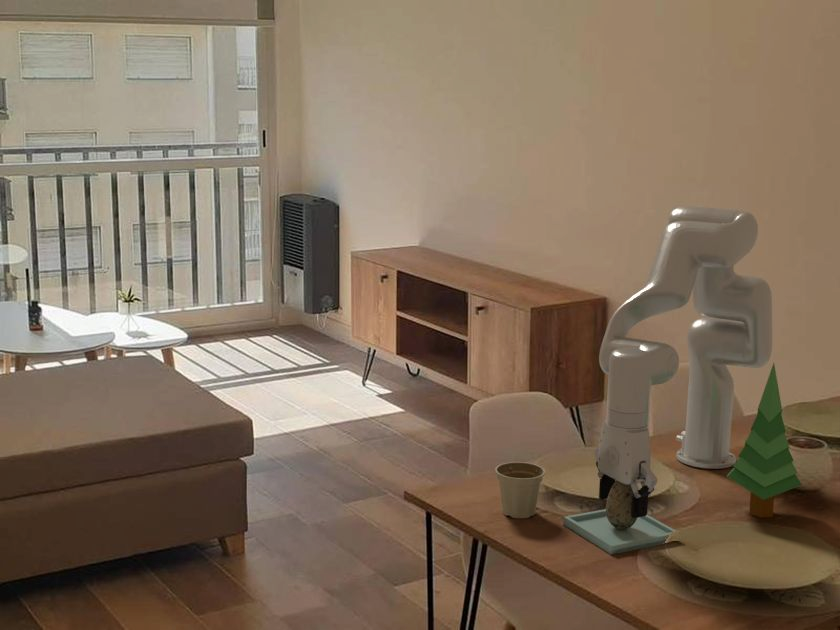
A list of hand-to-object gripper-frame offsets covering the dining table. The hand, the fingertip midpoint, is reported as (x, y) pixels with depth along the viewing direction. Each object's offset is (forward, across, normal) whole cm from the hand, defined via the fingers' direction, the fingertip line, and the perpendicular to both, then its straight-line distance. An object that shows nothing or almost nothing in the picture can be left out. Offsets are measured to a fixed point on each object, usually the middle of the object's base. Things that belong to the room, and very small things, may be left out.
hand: (622, 507), depth 215 cm
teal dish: (+5, 0, 0) cm, 5 cm away
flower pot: (+5, -16, -12) cm, 21 cm away
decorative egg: (+4, 0, 0) cm, 4 cm away
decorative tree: (+5, +3, +31) cm, 31 cm away
